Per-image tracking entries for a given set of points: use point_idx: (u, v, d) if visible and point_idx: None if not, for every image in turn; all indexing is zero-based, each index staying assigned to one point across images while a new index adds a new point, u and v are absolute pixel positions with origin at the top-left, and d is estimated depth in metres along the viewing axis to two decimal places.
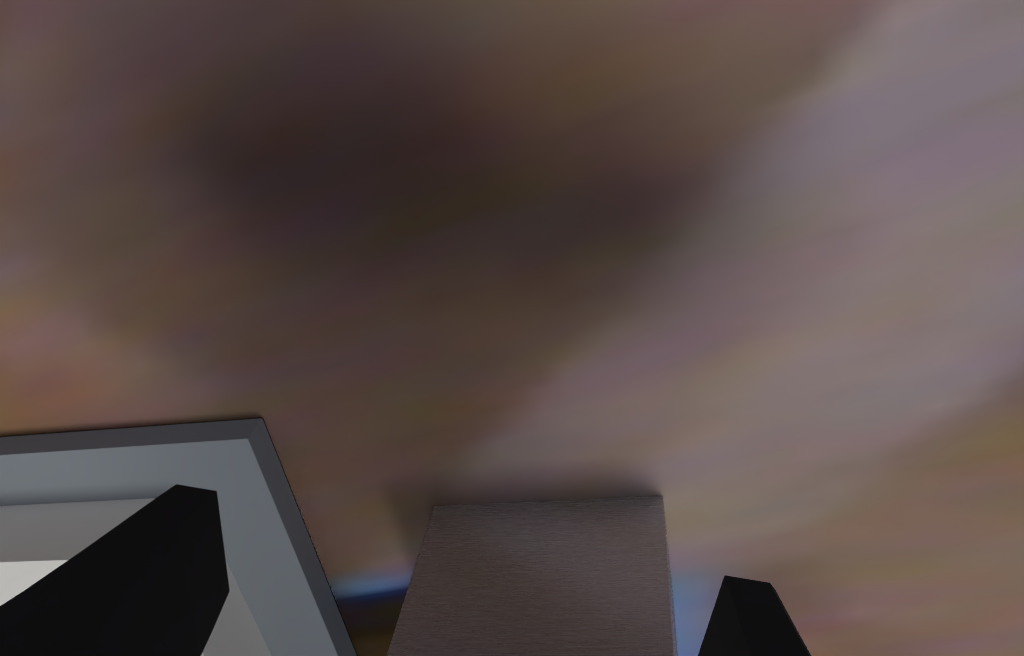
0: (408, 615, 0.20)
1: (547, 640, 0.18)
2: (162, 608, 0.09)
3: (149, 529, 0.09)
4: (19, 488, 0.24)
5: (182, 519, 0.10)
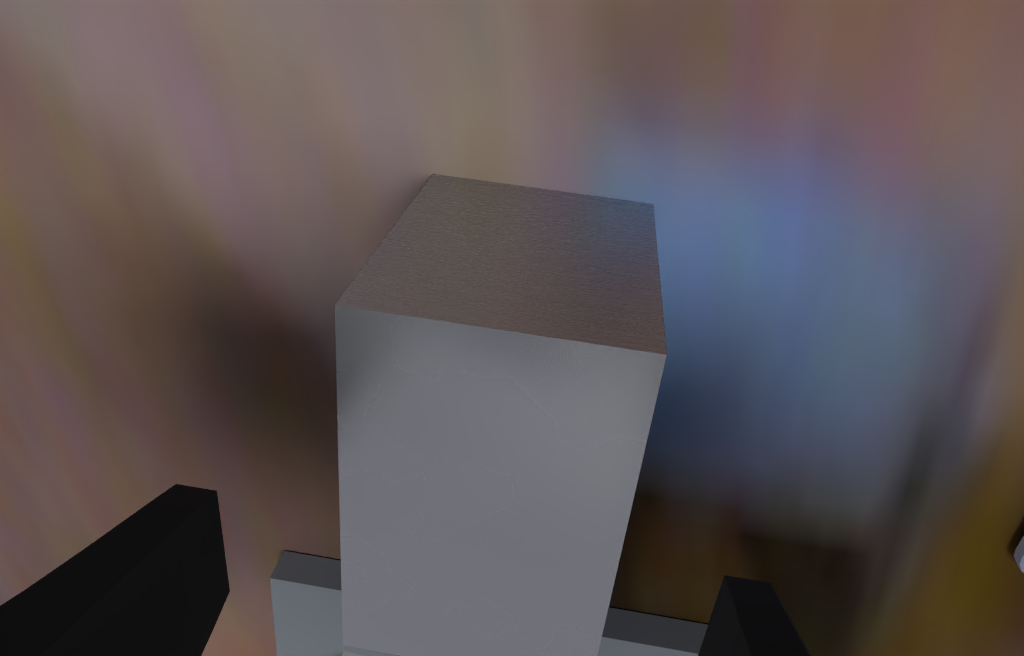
0: None
1: None
2: (162, 608, 0.09)
3: (149, 529, 0.09)
4: None
5: (182, 519, 0.10)
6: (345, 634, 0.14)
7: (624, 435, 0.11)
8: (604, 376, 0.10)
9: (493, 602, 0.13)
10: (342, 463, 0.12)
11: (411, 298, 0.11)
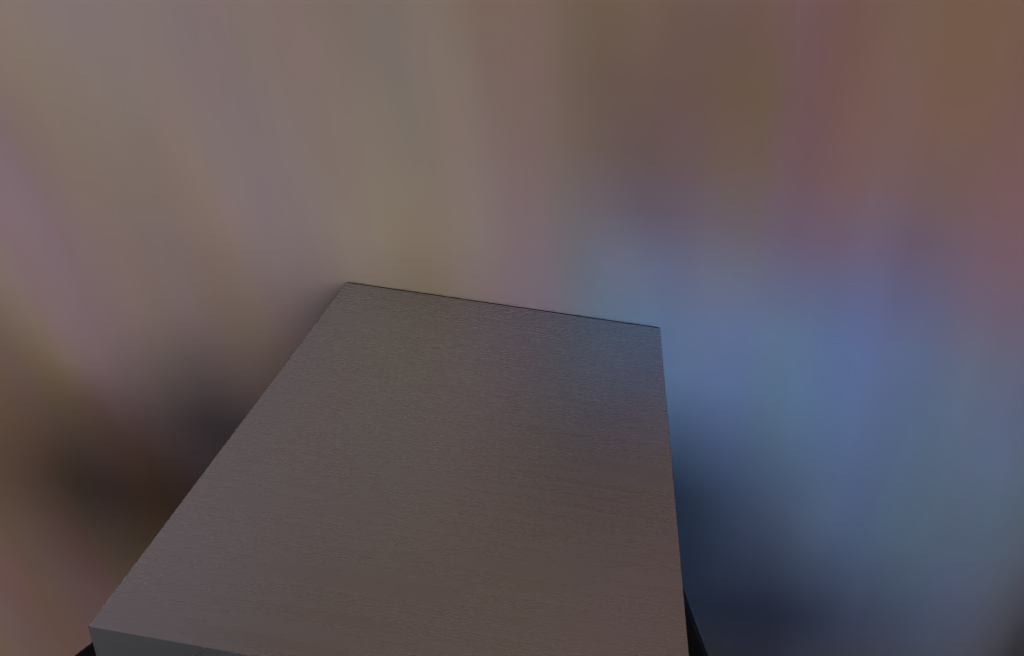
0: None
1: None
2: None
3: None
4: None
5: None
6: None
7: None
8: None
9: None
10: None
11: (241, 592, 0.06)
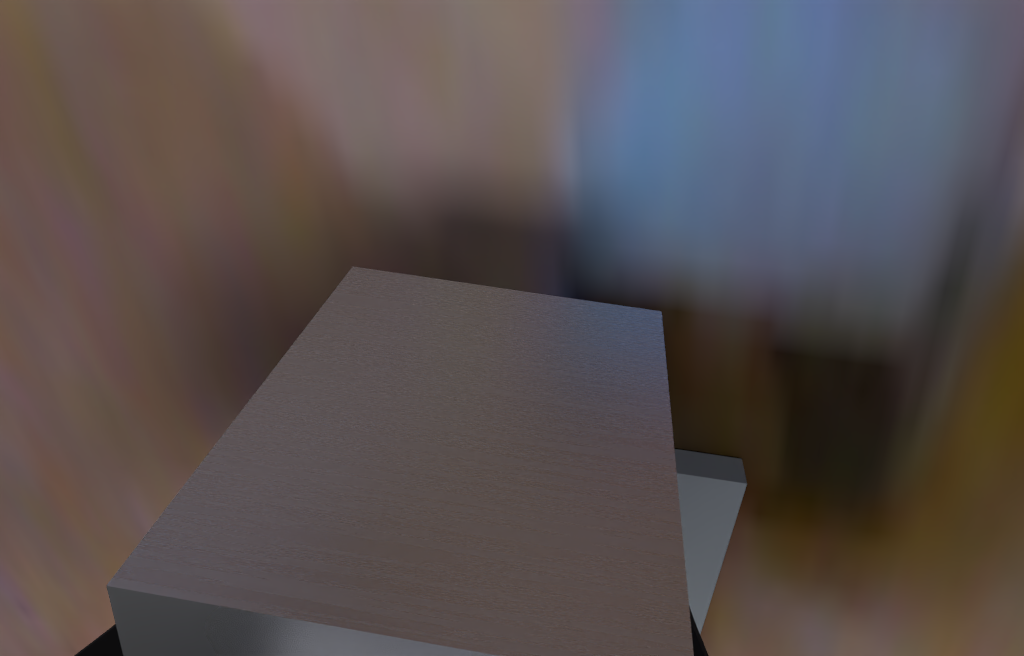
0: None
1: None
2: None
3: None
4: None
5: None
6: None
7: None
8: None
9: None
10: None
11: (254, 555, 0.06)
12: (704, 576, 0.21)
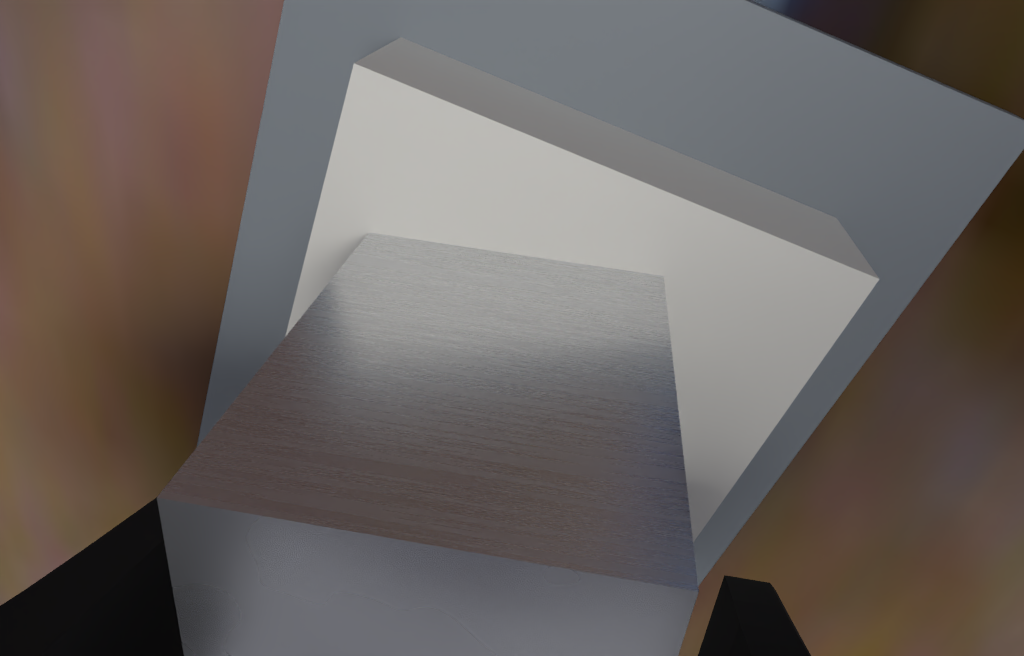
0: None
1: None
2: (162, 608, 0.09)
3: (149, 529, 0.09)
4: (289, 313, 0.15)
5: None
6: None
7: None
8: (595, 615, 0.06)
9: None
10: None
11: (290, 476, 0.07)
12: (891, 296, 0.14)
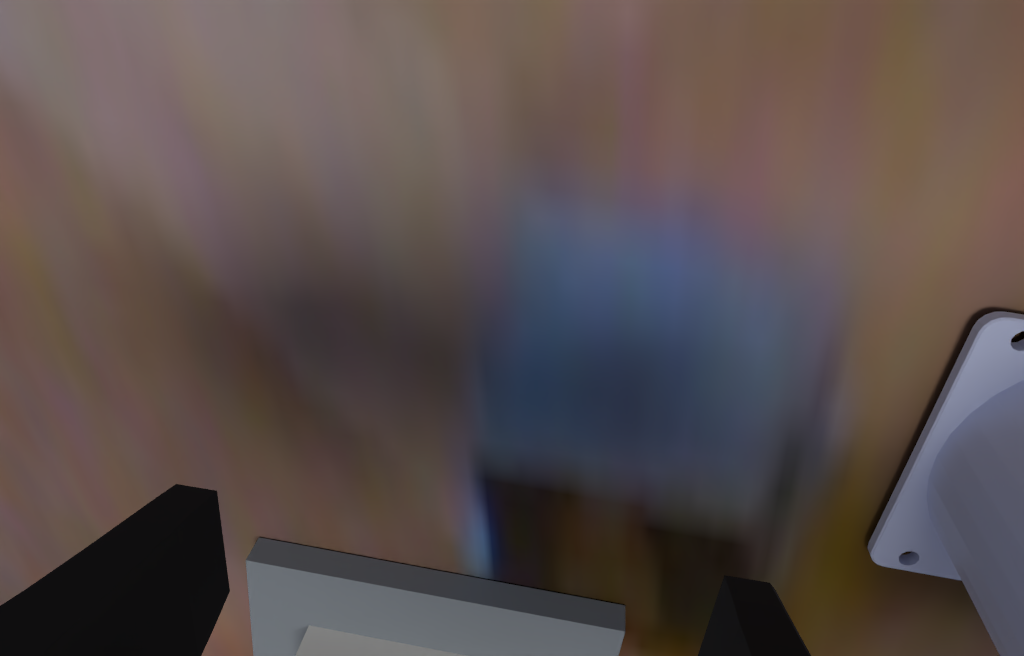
0: None
1: None
2: (162, 608, 0.09)
3: (149, 529, 0.09)
4: None
5: (182, 519, 0.10)
6: None
7: None
8: None
9: None
10: None
11: None
12: None
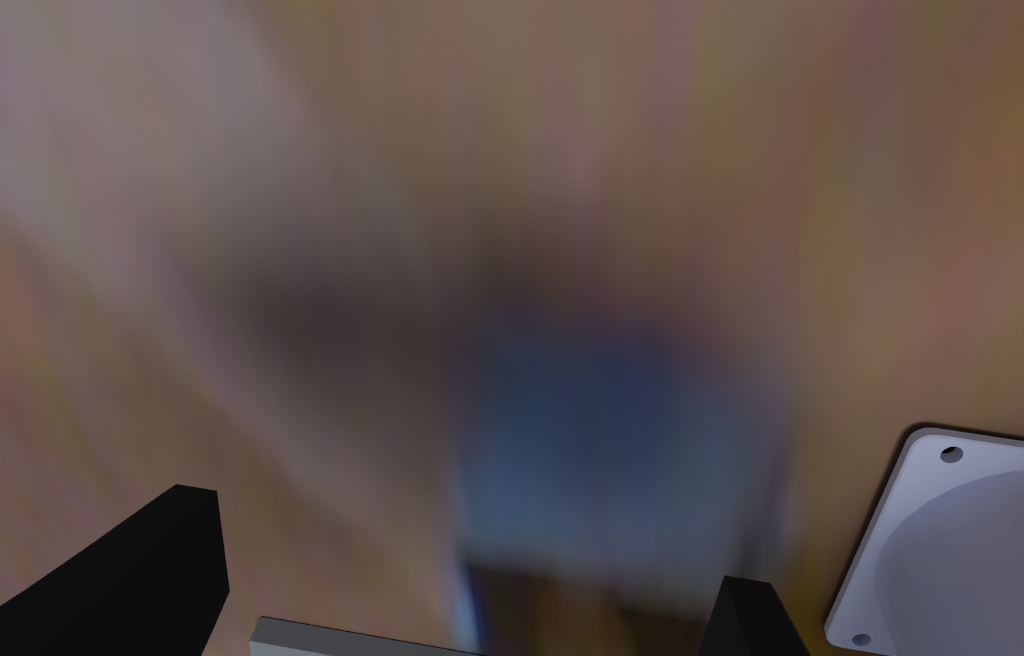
0: None
1: None
2: (162, 608, 0.09)
3: (149, 529, 0.09)
4: None
5: (182, 519, 0.10)
6: None
7: None
8: None
9: None
10: None
11: None
12: None
